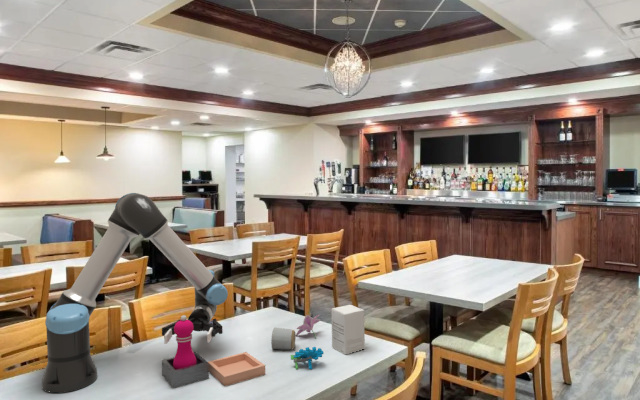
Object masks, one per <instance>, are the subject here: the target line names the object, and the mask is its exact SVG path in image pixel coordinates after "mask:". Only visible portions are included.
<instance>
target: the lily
mask: <svg viewBox="0 0 640 400" xmlns="http://www.w3.org/2000/svg"><path fill="white" fill-rule="evenodd" d="M319 316H320V313H319V314H317V315H315V316H314V317H312V316H310V315H309V314H307V315H306V316H305V317H304V319H303V321H302V322H303V323H302V324H301V325H299V326H298V327H297V328H296V330H297V332H296V333H295V334H296V337H297V336H298V335H300V334H301V333H303V332H307V333H308V332H310V333H311V332H312V333H313V337H314V338H315V339H317V336H316V334H315V332H314V331H313V328H314V325H315V324H317V323H319V322H320V321H321V319H320V318H318V317H319Z"/></svg>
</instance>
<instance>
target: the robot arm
mask: <svg viewBox="0 0 640 400" xmlns="http://www.w3.org/2000/svg"><path fill="white" fill-rule="evenodd" d="M168 222H169V221H168V219H167V218H166V217H165V216H164V214H163V213H162V211H161V210H160V209H159V208H158V206H157V205H156V203H155V202H154V201H153V200H152V199H151V198H150V197H148V195H145V194H141V193H139V192H138V193H136V192H131V193H127V194H124V195H123V196H121V197H120V198H118V200H117V201H116V203H115V206H114V210H112V212H111V214H110V216H109V218H108V220H107V224H108V228H107V230H106V231H105V233H104V235H103V236H102V238H101V239H100V241H99V242H98V244H97V245H96V247H95V249H94V250H93V252H92V253H91V255H90V257H89V258H88V260H87V262H86V263H85V265H84V267H83V268H82V270H81V271H80V273H79V275H78V276H77V278H76V279H75V281H74V283H73V285H72V286H71V287H70V288H69V289H65V290H63V291H62V292H61V294H60V296H59V297H58V299H57V301H56V302H55V303H54V304H53V305H52V306H51V307H50V309H49V310H48V312H47V313H46V317H45V327H46V328H45V329H46V345H47V347H46V349H47V364H46V366H45V367H46V368H45V371H44V374H43V377H42V381H41V383H42V386H41V388H42V387H43V388H42V390H43V389H44V390H46V391H50V392H63V393H68V391H70V392H73V390H74V391H77V389H78V390H80V388H81V389H83V388H85V387H87V386H90V385H92V384H93V383H94V382H95V381H96V380H97V379H98V369H97V367H96V365H95V364H96V363H95V362H94V360H93V356H92V355H91V342H90V340H91V339H90V338H91V337H90V317H91V316H92V314H93V313H94V310H95V309H96V307H97V302H96V298H97V297H98V295H99V294H100V292H101V290H102V288H103V287H104V285H105V283H106V282H107V280H108V278H109V277H110V275H111V274H112V271H114V269H115V267H116V265H117V264H118V262H119V261H120V259H121V257H122V255H123V254H124V253H125V250H126V249H127V248H128V246H129V243H130V242H131V241H132V239H134V238H137V237H139V236H140V235H141V237H142V238H143V239H145V240H149V241H150V242H151V243H152V244H153V245H154V246H155V247H156V248H157V249H158V250H159V251H160V252H161V253H162V255H164V256H165V258H167V259H168V261H169V262H171V264H172V265H173V266H174V267H175V268H176V269H177V270H178V271H179V272H180V273H181V274H182V275H183V277H184V278H185V279H186V280H188V282H189V283H190V284H191V285H192V286H193V287H194V309H193V310H192V312H191V313H190V314H189V316H188V317H187V320H189V321H191V322H192V323H193V327H194V329H193V331H195V332H207V334H206V338H207V340H206V341H207V343H211V340H212V338H214V337H216V335H217V334H219V335H222V334H224V332H223V325H222V324H221V323H220V322H218V321H217V318H213V317H214V316H215V314H216V312H217V309H218V308H217V307H218V306H220V305H222V304H224V303H225V301H227V299H228V294H229V293H228V289H227V288H226V286H225V285H224V284H222V283H221V282H220V281H219V280H218V279H217V278H216V277H215V272H214V270H212V269H208V268H207V267H206V266H205V265H204V263H203V262H202V261H201V260H200V259H199V258H198V257H197V256H196V254H194V252H193V251H192V250H191V249H190V248H189V247H188V245H187V244H186V243H185V242H184V241H183V240H182V239H181V238H180V236H178V234H177V233H176V232H175V231H174V230H173V229H172V228H171V227H170V226H169V224H168ZM180 320H181V319H178V320H176V321H174V322H172V323H170V324H168V325H166V326H163V327H161V336H163V339H164V340H163V341H164V344H166V345H167V344H168V343H169V342H170V341H171V338H173V335H176V334H175V332H174V326H175V324H176V323H177V322H178V321H180ZM44 390H43V391H44ZM46 391H45V392H46ZM50 392H49V393H50Z"/></svg>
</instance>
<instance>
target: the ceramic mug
mask: <svg viewBox="0 0 640 400" xmlns="http://www.w3.org/2000/svg"><path fill="white" fill-rule="evenodd" d="M296 334H297V333H296V331H295V329H292V328H282V327H274V328H273V329H272V333H271V340H270V341H271V342H270V343H271V349H272V350H286V351H287V350H293V349H294V348H295V345H296V337H297V336H296Z"/></svg>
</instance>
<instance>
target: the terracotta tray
mask: <svg viewBox="0 0 640 400" xmlns="http://www.w3.org/2000/svg"><path fill="white" fill-rule="evenodd" d="M207 362H208V363H209V374H210V375H211V376H213V377H214V378H215V379H216V380H217V381H218V382H219V383H220V384H221V385H222V386H223V387H228V386H231V385H234V384H238V383H242V382H244V381H248V380H251V379H255V378H258V377H259V378H260V377H262V376H265V375H266V365H265V364H264V363H263V362H261V360H258V359H257V358H256V357H254V356H253V355H251V354H250V353H248V352H247V351H245V352H240V353H237V354H233V355H229V356H224V357H220V358H217V359H213V360H210V361H207Z"/></svg>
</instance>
